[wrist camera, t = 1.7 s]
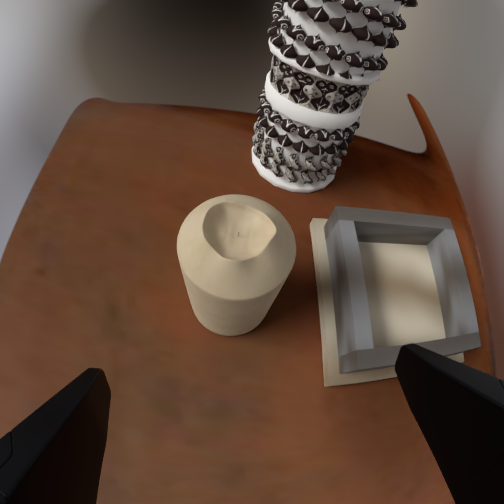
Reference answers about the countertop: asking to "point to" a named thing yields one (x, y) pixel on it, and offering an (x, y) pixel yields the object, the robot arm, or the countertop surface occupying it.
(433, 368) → the robot arm
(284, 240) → the candle
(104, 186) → the countertop surface
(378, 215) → the square tray
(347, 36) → the decorative candle
